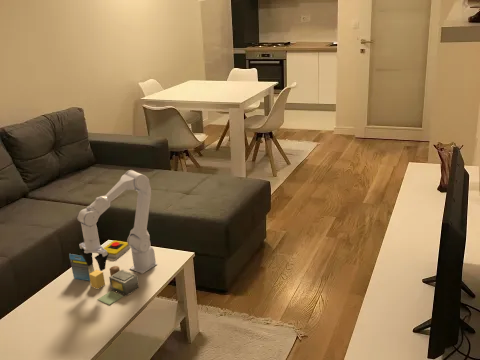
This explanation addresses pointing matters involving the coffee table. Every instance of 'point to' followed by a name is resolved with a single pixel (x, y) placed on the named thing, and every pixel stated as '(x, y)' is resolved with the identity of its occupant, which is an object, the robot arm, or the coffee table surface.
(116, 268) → the walnut cylinder
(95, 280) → the ochre block
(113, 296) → the pad
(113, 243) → the emergency button
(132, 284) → the box
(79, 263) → the label tape box
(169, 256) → the coffee table surface
